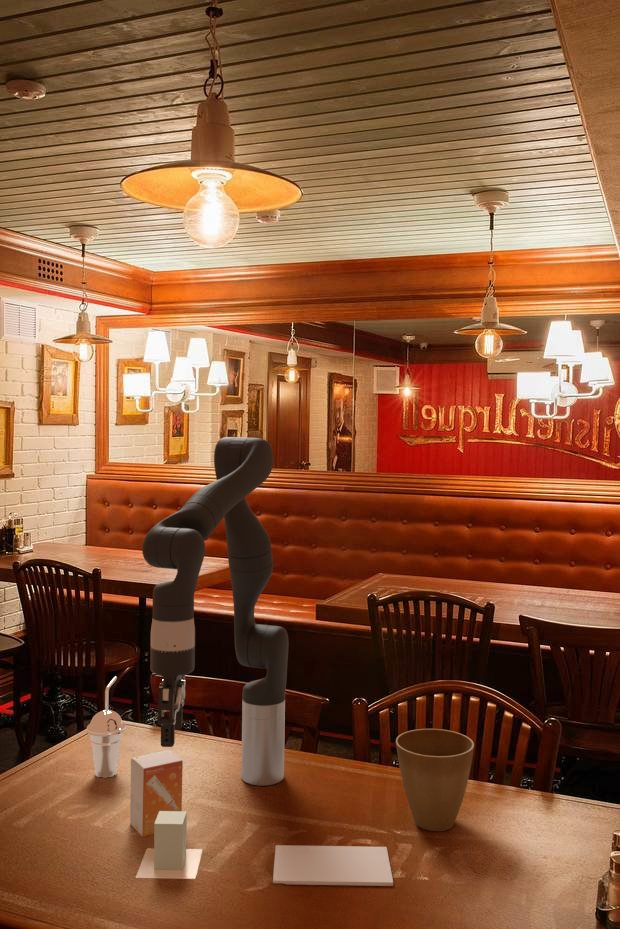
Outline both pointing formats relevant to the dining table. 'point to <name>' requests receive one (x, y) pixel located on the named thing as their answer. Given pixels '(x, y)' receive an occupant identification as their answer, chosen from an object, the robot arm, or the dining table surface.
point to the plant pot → (434, 774)
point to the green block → (170, 840)
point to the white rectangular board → (332, 865)
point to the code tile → (186, 873)
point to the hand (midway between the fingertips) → (171, 737)
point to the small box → (154, 788)
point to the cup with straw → (106, 739)
